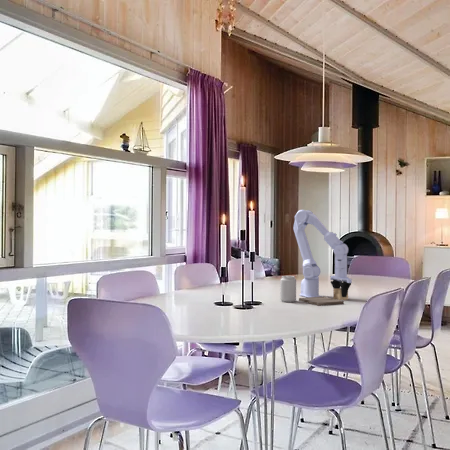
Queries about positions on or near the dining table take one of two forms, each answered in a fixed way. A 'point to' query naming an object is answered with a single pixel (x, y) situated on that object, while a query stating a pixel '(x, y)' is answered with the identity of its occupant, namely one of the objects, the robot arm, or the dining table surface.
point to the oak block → (339, 294)
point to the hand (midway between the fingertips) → (340, 296)
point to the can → (288, 289)
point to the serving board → (321, 301)
